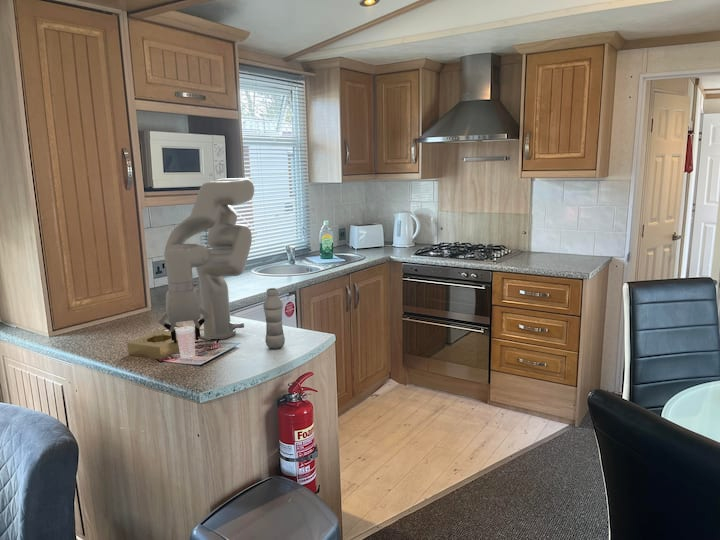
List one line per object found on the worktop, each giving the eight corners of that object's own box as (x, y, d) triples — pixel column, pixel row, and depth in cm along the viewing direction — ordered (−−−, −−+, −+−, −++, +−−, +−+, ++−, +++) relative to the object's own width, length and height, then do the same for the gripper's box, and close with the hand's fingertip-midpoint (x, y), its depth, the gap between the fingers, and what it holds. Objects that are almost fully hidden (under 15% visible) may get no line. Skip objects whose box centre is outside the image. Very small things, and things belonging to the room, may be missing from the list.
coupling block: (159, 341, 187) (158, 330, 186) (190, 345, 182) (189, 334, 181) (128, 354, 175) (127, 342, 174) (161, 359, 169) (159, 347, 168)
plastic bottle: (267, 351, 173) (263, 292, 170) (264, 345, 180) (261, 288, 176) (286, 349, 175) (283, 290, 171) (283, 343, 182) (280, 286, 178)
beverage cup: (181, 360, 168) (176, 317, 165) (175, 354, 173) (171, 313, 170) (200, 355, 171) (196, 314, 169) (193, 350, 176) (189, 310, 174)
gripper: (207, 281, 174) (212, 333, 178) (151, 287, 168) (157, 341, 171) (210, 286, 167) (215, 340, 171) (152, 292, 161) (158, 348, 165)
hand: (186, 340), depth 171 cm, fingers closed on beverage cup, 6 cm apart
